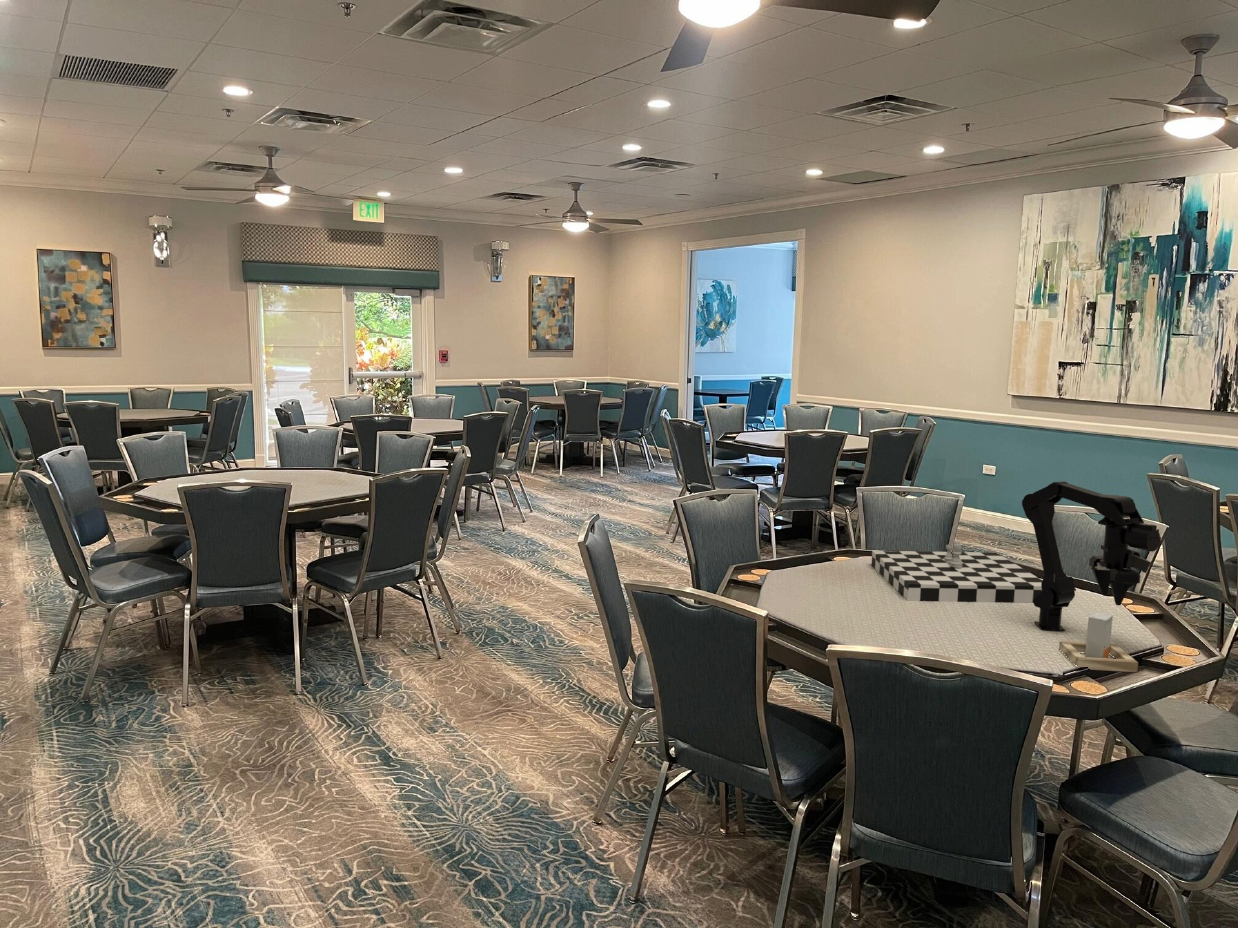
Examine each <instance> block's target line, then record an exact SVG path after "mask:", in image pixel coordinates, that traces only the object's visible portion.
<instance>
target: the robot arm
mask: <svg viewBox="0 0 1238 928" xmlns="http://www.w3.org/2000/svg"><path fill="white" fill-rule="evenodd" d="M1063 499H1065V500H1067V501H1068V500H1069V501H1071V502H1074V503H1078V504H1081V505H1083V506H1086V507H1089V508H1092V509H1094V510H1095V511H1096V512H1097V513H1098V514H1099V515H1101V516H1103V518H1102V519H1100V520H1099V521H1097V524H1098V525H1101V526H1104V538H1103V544H1100V549H1101V550H1102V555H1092V556H1091V557H1090V558H1089V560H1088V561H1089V562H1088V565H1089V567H1090V569H1091V571H1092V573H1093V576H1094V578H1095V581H1096V583H1097V585H1098V589H1099V590H1100V593H1101V595H1102V596H1103V597H1105V596H1107V595H1108V592H1109V588H1110V589H1111V593H1112V596H1113V601H1114V603H1115V605H1116V606H1121V605H1122V604H1123V601H1124V599H1125V596H1126V594H1127V593H1128V590H1129V589H1130V588H1131V587H1133V586H1137V584H1140V583H1141V575H1140V574H1139V573H1138V571H1141V573H1145V574H1147V573H1148V571H1149V568H1150V567H1151V564H1152V562H1151V561H1149V560H1148V559H1145V558H1144V557H1141V553H1140V552H1138V551H1136V550H1133V549H1139V550H1142V551H1143V550H1144V551H1147V552H1150V553H1151V552H1152V553H1153V552H1155V551H1156V550H1158V549H1159V547H1160V545H1161V543H1162V542H1161V541H1162V537H1161V535H1160V532H1159V531H1158V530H1157V527H1158V525H1156V524H1147V523H1145V521H1144V519H1143V518H1142V516H1141V514H1140V512H1139V511H1138V509H1137V507H1136V503H1135V502H1134V499H1133V498H1132V497H1130V496H1126V495H1125V496H1124V495H1118V494H1117V495H1116V494H1103V493H1101V492H1100V493H1099V492H1097V491H1094V490H1091V489H1087V488H1084V487H1081V486H1077V485H1075V484H1071V483H1069V482H1067V481H1063V480H1062V481H1053V482H1052V483H1050V484H1047V486H1045V487H1043V488H1041V489H1039V490H1036V491H1034V492H1032V493H1028V494H1027V493H1026V495H1025V496H1024V497H1023V499H1022V500H1021V507H1022V509H1023V512H1024V515H1025V517H1026V518H1027V520H1028V521H1030V523H1031V524H1032V525H1033V528H1034V529H1033V530H1034V533H1035V539H1036V543H1037V547H1038V550H1039V557H1040V560H1041V565H1042V569H1043V578H1042V579H1041V580H1042V583H1041V588H1042V593H1040V594H1039V595H1038V596H1036V597H1035V598H1034V599H1033V602H1034V603H1033V606H1034V607H1035V608H1039V616H1038V621H1034V624H1035V625H1036V627H1038V628H1039V629H1040V630H1042V631H1055V632H1056V631H1061V632H1064V631H1065V630H1066V629H1065V628H1064V627H1063V626H1062V611H1063V608H1068V607H1069V606H1070V603H1071V601H1073V599H1074V598H1075V596H1076V592H1075V591H1077V589H1076V586H1075V583H1074V581H1075V580H1074V578H1073V576H1068V575H1066V574H1065V572H1064V571H1063V567H1062V561H1061V557H1060V552H1059V548H1058V543H1057V539H1056V535H1055V530H1054V527H1053V518H1054V515H1055V513H1056V511H1055V505H1056V504H1058V503H1060V502H1061V501H1062V500H1063ZM1129 547H1130V548H1129ZM1131 548H1133V549H1131ZM1132 568H1133V569H1132ZM1134 569H1136V570H1138V571H1135V570H1134Z"/></svg>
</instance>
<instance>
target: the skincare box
mask: <svg viewBox="0 0 1238 928" xmlns="http://www.w3.org/2000/svg"><path fill="white" fill-rule="evenodd" d="M1113 617H1114V616H1113V615H1112V614H1106V613H1102V612H1097V611H1096V612H1095V613H1092V614H1091V615H1090V616H1088V623H1087V634H1086V641H1085V642H1086V650H1085V654H1084V657H1091V658H1110V655H1109V649H1110V644H1111V638H1112V637H1111V636H1112V629H1113V628H1112V627H1113V626H1112V625H1113Z"/></svg>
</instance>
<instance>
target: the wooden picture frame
mask: <svg viewBox="0 0 1238 928" xmlns="http://www.w3.org/2000/svg"><path fill="white" fill-rule="evenodd" d="M1059 650H1061V652H1063V654H1065V656H1067V658H1069V659H1070V660H1071V661H1072V662H1073V663H1074V664H1075V665H1077V666H1078V667H1088V668H1089V669H1090V670H1091V671H1092V670H1093V671H1109V672H1125V673H1126V672H1128V673H1130V672H1131V673H1138V667H1139V662H1138V661H1137V660H1136V659H1134V658H1133V657H1132V655H1131V656H1130V655H1129V654H1128V653H1127V652H1126V651H1124V650H1123V649H1122V648H1121V647H1119V646H1118V645H1117V644H1116V643H1110V649H1109V653H1110V654H1111V655H1112V656H1114V657H1115V658H1116V659H1113V658H1110V657H1109V658H1091V657H1085V655H1083V654H1080V653H1079V652H1085V650H1086V641H1085V642H1082V641H1062V640H1059V646H1058V651H1059ZM1061 652H1060V653H1061ZM1063 654H1062V655H1063ZM1065 656H1064V657H1065ZM1067 658H1066V659H1067ZM1070 660H1069V661H1070ZM1071 661H1070V662H1071ZM1072 662H1071V663H1072ZM1073 663H1072V664H1073ZM1074 664H1073V665H1074ZM1075 665H1074V666H1075Z"/></svg>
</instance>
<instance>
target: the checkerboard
mask: <svg viewBox="0 0 1238 928" xmlns="http://www.w3.org/2000/svg"><path fill="white" fill-rule="evenodd" d="M945 549H946V550H947V551H917V550H916V551H915V550H913V551H910V550H909V551H906V550H905V551H904V550H903V551H902V550H872V551H871V566H872V568H874V569H875V570H876V572H877V573H879V574H880V576H882V577H883V578H884V579H885V581H887V582H888V583H889V585H891V586H892V587H893V588H894V589H895V590H896V591H897V592H898V593H899V594H900V595H901V596H902V597H903V598H904V599H905V600H906V601H908V602H939V603H940V602H946V603H947V602H948V603H949V602H953V603H1000V604H1001V603H1004V604H1007V603H1008V604H1009V603H1010V604H1013V603H1015V604H1034V602H1033V599H1034V598H1035V597H1036V596H1038V595H1039V594H1040V593H1042V588H1041V583H1042V580H1043V579H1041V578H1039V577H1038V576H1036V575H1034V574H1033V573H1031V572H1030V571H1028V570H1026V569H1024V568H1022V567H1021V566H1019V565H1018V564H1016V563H1014V562H1013V561H1012V560H1010V559H1008V558H1006V557H1004V556H1002V554H1000V553H998V552H977V551H973V552H971V551H970V552H969V551H961V550H962V545H961V542H960V541H955V542H954V544H945Z"/></svg>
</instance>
